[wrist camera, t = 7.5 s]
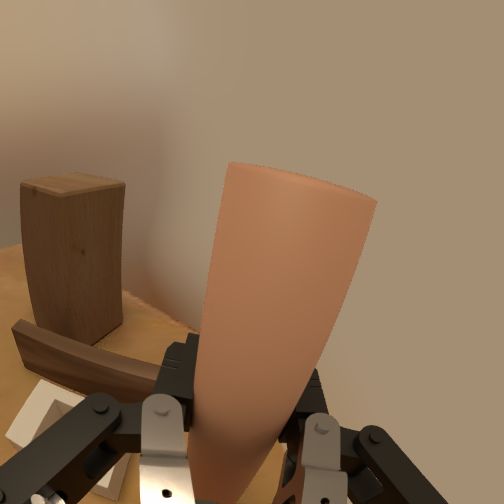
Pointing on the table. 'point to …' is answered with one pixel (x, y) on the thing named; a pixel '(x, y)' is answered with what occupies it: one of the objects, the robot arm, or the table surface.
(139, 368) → the wall
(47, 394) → the notched block
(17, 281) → the table surface
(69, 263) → the wooden block
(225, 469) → the dowel
